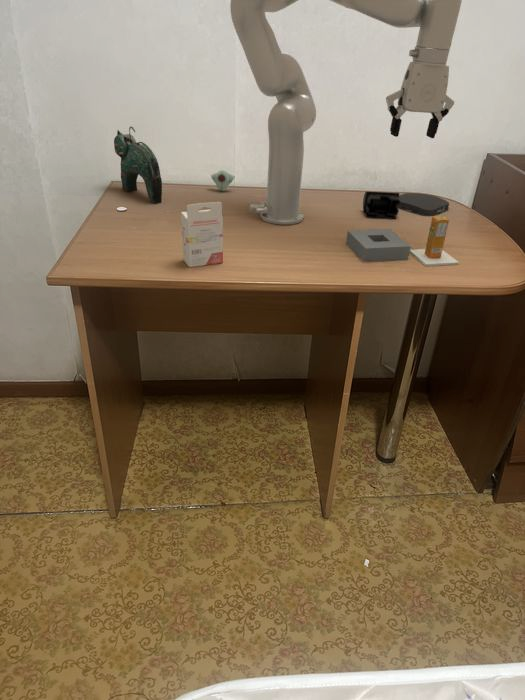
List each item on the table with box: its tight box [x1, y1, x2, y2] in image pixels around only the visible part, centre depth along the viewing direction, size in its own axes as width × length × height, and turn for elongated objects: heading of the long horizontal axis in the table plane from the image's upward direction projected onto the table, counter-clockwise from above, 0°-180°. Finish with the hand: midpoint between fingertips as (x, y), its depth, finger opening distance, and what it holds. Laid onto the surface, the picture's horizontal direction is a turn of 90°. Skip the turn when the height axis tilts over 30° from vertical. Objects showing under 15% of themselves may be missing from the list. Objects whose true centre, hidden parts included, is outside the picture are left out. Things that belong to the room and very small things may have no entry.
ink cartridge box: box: [180, 201, 224, 268], centre depth 119 cm, size 9×5×15 cm, turn 114°
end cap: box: [362, 190, 400, 220], centre depth 156 cm, size 10×7×7 cm
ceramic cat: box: [113, 126, 163, 205], centre depth 157 cm, size 20×6×20 cm, turn 43°
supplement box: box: [424, 215, 450, 258], centre depth 128 cm, size 3×3×10 cm
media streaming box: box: [397, 192, 450, 217], centre depth 166 cm, size 15×15×3 cm
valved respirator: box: [210, 169, 236, 192], centre depth 168 cm, size 8×4×7 cm, turn 85°
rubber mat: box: [409, 248, 460, 267], centre depth 131 cm, size 9×9×1 cm
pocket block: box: [345, 228, 412, 263], centre depth 132 cm, size 12×12×4 cm
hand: (412, 136), depth 128 cm, fingers open, 9 cm apart
